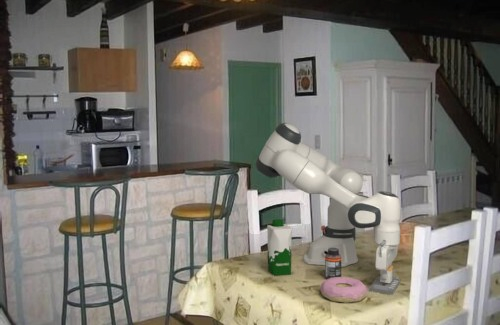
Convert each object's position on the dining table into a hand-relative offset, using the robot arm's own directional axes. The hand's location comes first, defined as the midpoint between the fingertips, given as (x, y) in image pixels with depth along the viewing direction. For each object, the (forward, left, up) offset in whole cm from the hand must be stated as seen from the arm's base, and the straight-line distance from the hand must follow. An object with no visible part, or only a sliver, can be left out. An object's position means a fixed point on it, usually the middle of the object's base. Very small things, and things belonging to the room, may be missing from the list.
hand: (386, 275), depth 180 cm
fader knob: (0, 0, -2) cm, 2 cm away
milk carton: (-38, +12, -4) cm, 40 cm away
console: (-1, -2, -3) cm, 4 cm away
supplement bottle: (-18, +6, -4) cm, 19 cm away
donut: (-16, -12, -4) cm, 20 cm away
